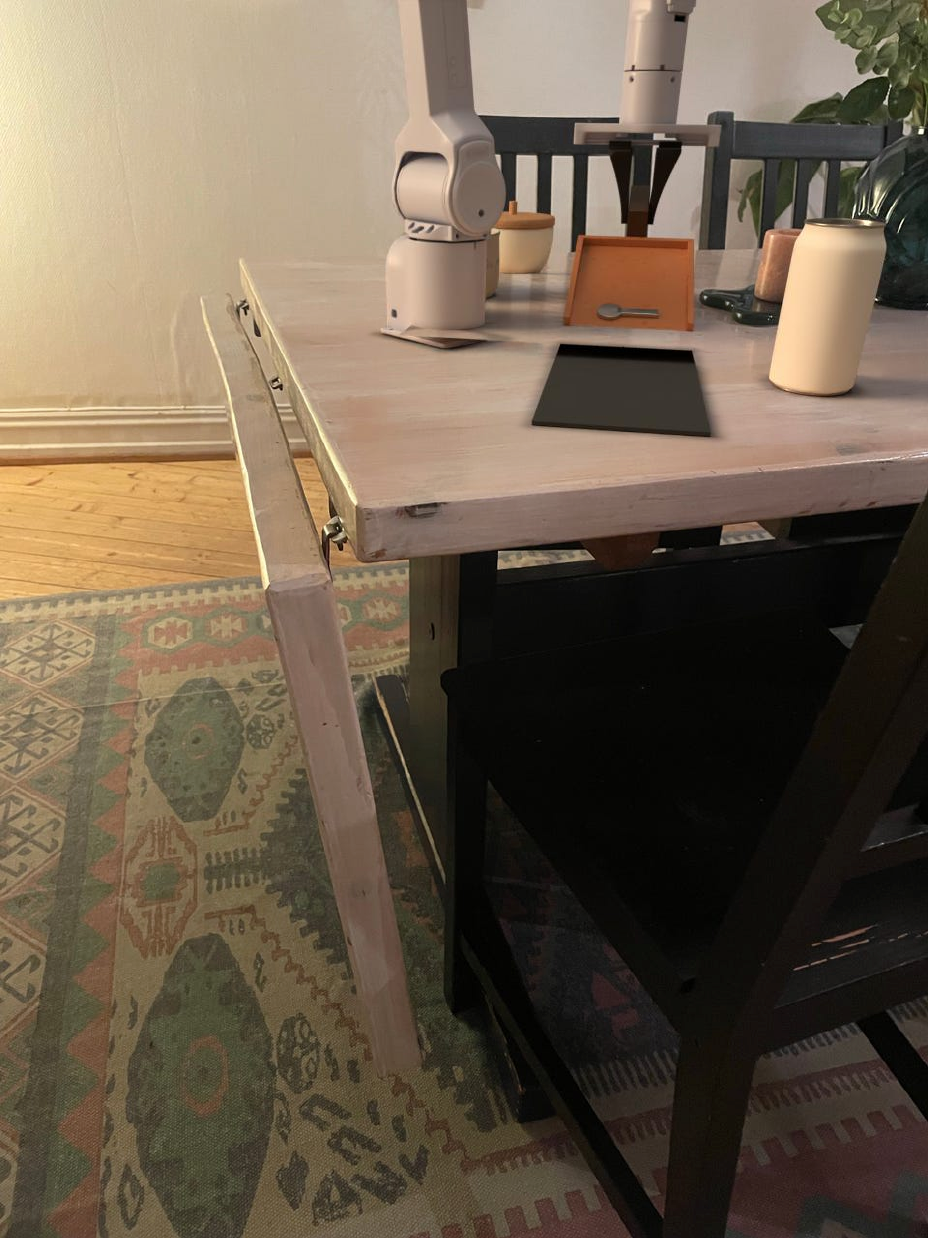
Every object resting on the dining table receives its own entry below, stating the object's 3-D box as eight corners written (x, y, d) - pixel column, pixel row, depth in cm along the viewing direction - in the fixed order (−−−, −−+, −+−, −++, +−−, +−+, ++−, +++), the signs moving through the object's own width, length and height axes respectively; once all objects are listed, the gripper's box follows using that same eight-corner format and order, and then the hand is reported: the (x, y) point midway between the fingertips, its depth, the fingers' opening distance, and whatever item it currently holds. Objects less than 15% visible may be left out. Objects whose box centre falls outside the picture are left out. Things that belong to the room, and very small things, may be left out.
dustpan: (563, 329, 82) (564, 289, 79) (582, 221, 96) (584, 183, 93) (691, 336, 80) (698, 295, 77) (692, 225, 94) (698, 186, 91)
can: (755, 375, 71) (784, 217, 65) (830, 375, 72) (865, 217, 66) (787, 397, 66) (821, 226, 60) (868, 396, 66) (910, 226, 60)
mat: (531, 424, 59) (531, 420, 59) (561, 342, 81) (561, 339, 81) (710, 436, 57) (710, 432, 57) (691, 349, 80) (691, 346, 79)
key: (596, 319, 82) (596, 315, 81) (597, 306, 83) (598, 302, 83) (658, 322, 81) (658, 318, 81) (658, 309, 82) (659, 305, 82)
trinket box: (565, 278, 115) (570, 200, 110) (526, 289, 107) (530, 206, 102) (496, 271, 120) (498, 196, 115) (454, 281, 112) (454, 201, 107)
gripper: (725, 74, 87) (704, 221, 94) (581, 73, 89) (571, 217, 96) (731, 70, 81) (708, 228, 88) (577, 70, 83) (566, 223, 90)
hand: (637, 223), depth 92 cm, fingers closed on dustpan, 2 cm apart
